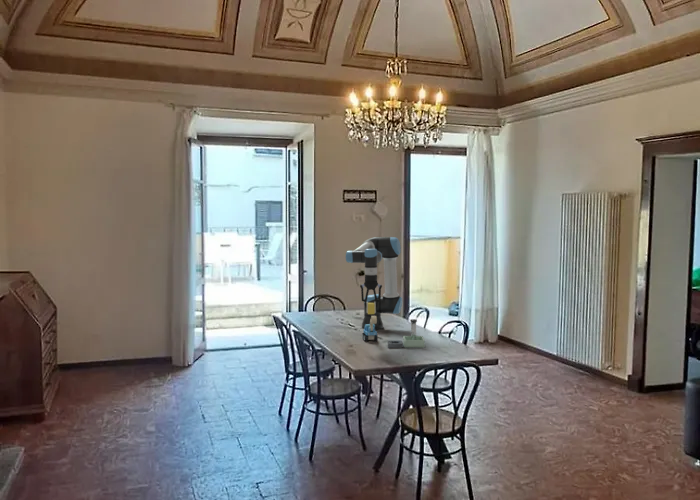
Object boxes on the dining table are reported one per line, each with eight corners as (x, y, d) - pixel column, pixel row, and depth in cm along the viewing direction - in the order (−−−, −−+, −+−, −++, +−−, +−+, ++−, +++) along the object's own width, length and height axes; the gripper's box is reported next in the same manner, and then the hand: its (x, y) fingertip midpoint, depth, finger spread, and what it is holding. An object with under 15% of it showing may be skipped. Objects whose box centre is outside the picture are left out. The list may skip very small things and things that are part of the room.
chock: (367, 314, 357) (367, 304, 357) (367, 312, 363) (367, 302, 363) (374, 314, 357) (374, 304, 357) (374, 312, 363) (374, 302, 363)
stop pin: (410, 343, 365) (410, 319, 365) (416, 343, 365) (416, 319, 364) (410, 344, 362) (410, 320, 361) (417, 344, 361) (417, 320, 360)
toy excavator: (367, 344, 368) (367, 316, 367) (361, 338, 384) (361, 312, 383) (380, 343, 370) (380, 316, 368) (374, 337, 386) (374, 311, 385)
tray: (403, 343, 370) (403, 336, 369) (422, 343, 369) (422, 336, 369) (404, 347, 358) (404, 340, 357) (424, 347, 357) (424, 340, 357)
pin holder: (387, 344, 366) (387, 340, 366) (401, 344, 366) (401, 340, 366) (388, 347, 357) (388, 343, 357) (402, 347, 357) (402, 343, 357)
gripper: (356, 275, 355) (356, 313, 357) (385, 275, 355) (385, 313, 357) (356, 273, 363) (357, 311, 364) (384, 273, 362) (384, 311, 364)
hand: (371, 312), depth 360 cm, fingers closed on chock, 4 cm apart
